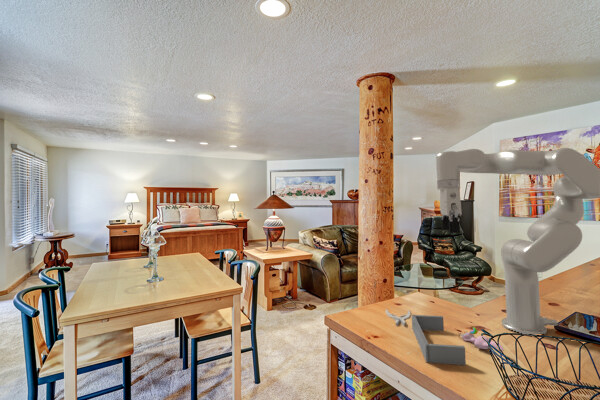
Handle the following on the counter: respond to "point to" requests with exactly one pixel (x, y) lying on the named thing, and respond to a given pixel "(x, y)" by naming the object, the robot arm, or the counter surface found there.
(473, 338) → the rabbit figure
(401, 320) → the pliers
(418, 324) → the box
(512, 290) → the robot arm
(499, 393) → the counter surface
